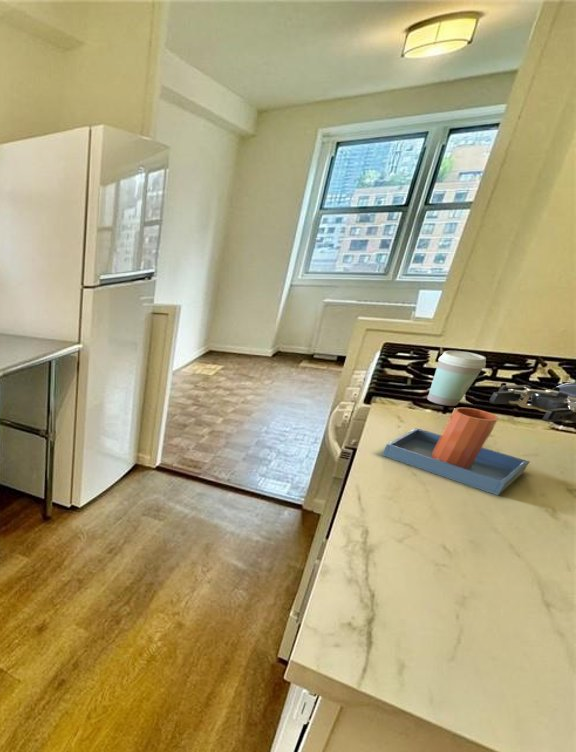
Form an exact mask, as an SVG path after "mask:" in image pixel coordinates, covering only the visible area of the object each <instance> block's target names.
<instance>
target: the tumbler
mask: <svg viewBox="0 0 576 752" xmlns="http://www.w3.org/2000/svg"><path fill="white" fill-rule="evenodd" d="M499 419H500V418H499V416H497V415H495V414H494V413H491V412H488V411H486V410H482V409H478V408H472V407H463V406H462V407H456V408H454V409H453V410H452V413H451V414H450V416H449V419H448V420H447V421H446V424H445V426H444V428H443V430H442V432H441V434H440V435H441V436H440V438H439V440H438V442H437V444H436V446H435V448H434V450H433V452H432V455H431V458H434V459H437V460H440V461H443V462H446V463H449V464H452V465H455V466H458V467H461V468H464V469H469V468H471V467H472V465H473V464H474V462H475V460H476V458H477V457H478V455H479V453H480V451H481V450H482V448H484V446H485V445H486V442H487V441H488V439H489V437H490V435H491V433H492V432H493V430H494V429H495V427H496V425H497V423H498V421H499Z"/></svg>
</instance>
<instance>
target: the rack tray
mask: <svg viewBox="0 0 576 752" xmlns="http://www.w3.org/2000/svg"><path fill="white" fill-rule="evenodd" d="M440 436H441V434H438V433H435V432H431V431H428V430H425V429H422V428H418V427H415V428H414V429H412V430H410V431H408V432H406V433H404V434H403V435H401V436H399V437H397V438H395V439H394V440H392V441H390V442H388V443H387V444H386V445H385V447H384V449H383V452H382V454H381V456H383V457H386V458H389V459H392V460H395V461H397V462H400V463H403V464H406V465H409V466H411V467H414V468H418V469H421V470H423V471H426V472H429V473H432V474H435V475H438V476H440V477H443V478H446V479H450V480H452V481H455V482H458V483H461V484H463V485H467V486H470V487H472V488H474V489H475V488H476V489H478V490H481V491H484V492H487V493H490V494H492V495H495V496H499V495H501V493H503V491H505V490H506V489H507V488H508V487H509V486H510V485H512V483H514V481H516V480H517V479H518V478H519V477H520V476H522V474H523V473H524V472H525V470H526V469H527V467H528V466H529V464H530V461H529V460H525V459H522V458H519V457H515V456H513V455H510V454H506V453H502V452H499V451H496V450H492V449H488V448H485V447H483V448H482V450H481V451H480V453H479V455H478V457H477V458H476V460H475V462H474V464H473V465H472V467H471V468H469V469H464V468H461V467H458V466H455V465H452V464H449V463H446V462H443V461H440V460H437V459H434V458H431V455H432V452H433V450H434V448H435V446H436V444H437V442H438V440H439V438H440Z"/></svg>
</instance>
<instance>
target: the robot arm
mask: <svg viewBox="0 0 576 752" xmlns="http://www.w3.org/2000/svg"><path fill="white" fill-rule="evenodd" d="M529 399H530V401H531V403H528V401H529ZM489 403H490V404H493V405H499V404H501V405H503V404H513V405H514V404H515V405H518V406H519V407H520V408H522V409H523V408H525V409H530V410H531V409H533V410H538V411H539V412H544V413H545V414H544V415H543V417H542V419H541V420H542V421H544V422H547V423H552V422H553V423H554V422H563V423H565V424H566V423H569V424H573V423H576V382H566V383H563V384H560V385H558V386H556V387H553V388H552V389H546V390H543V389H535V388H534V389H533V388H532V386H530V385H528V384H514V385H513V384H511V385H500V387H499V389H498V391H496V392H492V394H491V396H490V398H489Z"/></svg>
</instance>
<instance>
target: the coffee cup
mask: <svg viewBox="0 0 576 752" xmlns="http://www.w3.org/2000/svg"><path fill="white" fill-rule="evenodd" d="M437 360H438V363H437V366H436V369H435V371H434V376H433V379H432V382H431V385H430V389H429V392H428V394H427V398H426V399H427V400H428V401H429V402H431V403H433V404H437V405H441V406H447V407H454V406H458V405H459V403H460V402H461V400H463V398H464V396H465V395H466V393H467V392H468V390H469V389H470V387H471V386H472V385H473V383H474V382H475V381H476V379H477V377H478V376H479V374H480V373H481V371H482V370H483V369H485V368H486V365H487V363H486V361H487V357H486V356H484V355H482V354H478V353H474V352H469V351H461V350H445V351H444V352H443V353H442V355H440V356H439V358H438V359H437Z"/></svg>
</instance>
